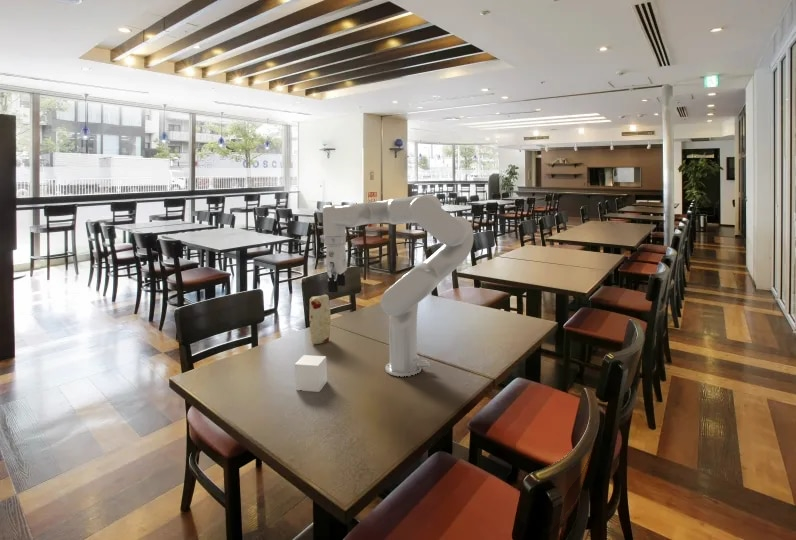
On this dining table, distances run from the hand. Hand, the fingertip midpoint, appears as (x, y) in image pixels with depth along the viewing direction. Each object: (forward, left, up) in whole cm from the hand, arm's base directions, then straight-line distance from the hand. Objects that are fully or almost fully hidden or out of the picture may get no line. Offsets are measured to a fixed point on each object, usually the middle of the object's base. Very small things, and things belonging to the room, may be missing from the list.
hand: (337, 288), depth 162 cm
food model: (+14, -19, -28) cm, 37 cm away
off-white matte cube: (+3, +20, -28) cm, 34 cm away
